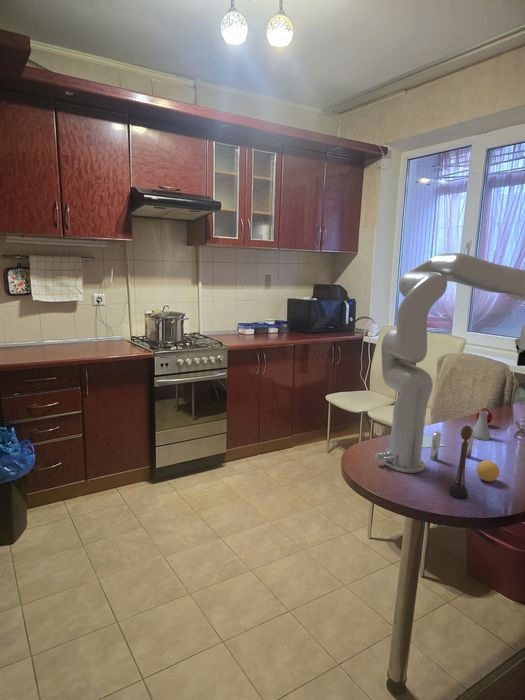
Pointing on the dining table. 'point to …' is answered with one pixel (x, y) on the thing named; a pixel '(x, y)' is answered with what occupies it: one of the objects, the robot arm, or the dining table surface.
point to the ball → (487, 470)
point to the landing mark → (428, 442)
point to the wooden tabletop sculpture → (461, 467)
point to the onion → (489, 416)
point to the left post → (435, 446)
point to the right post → (470, 446)
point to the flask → (482, 427)
